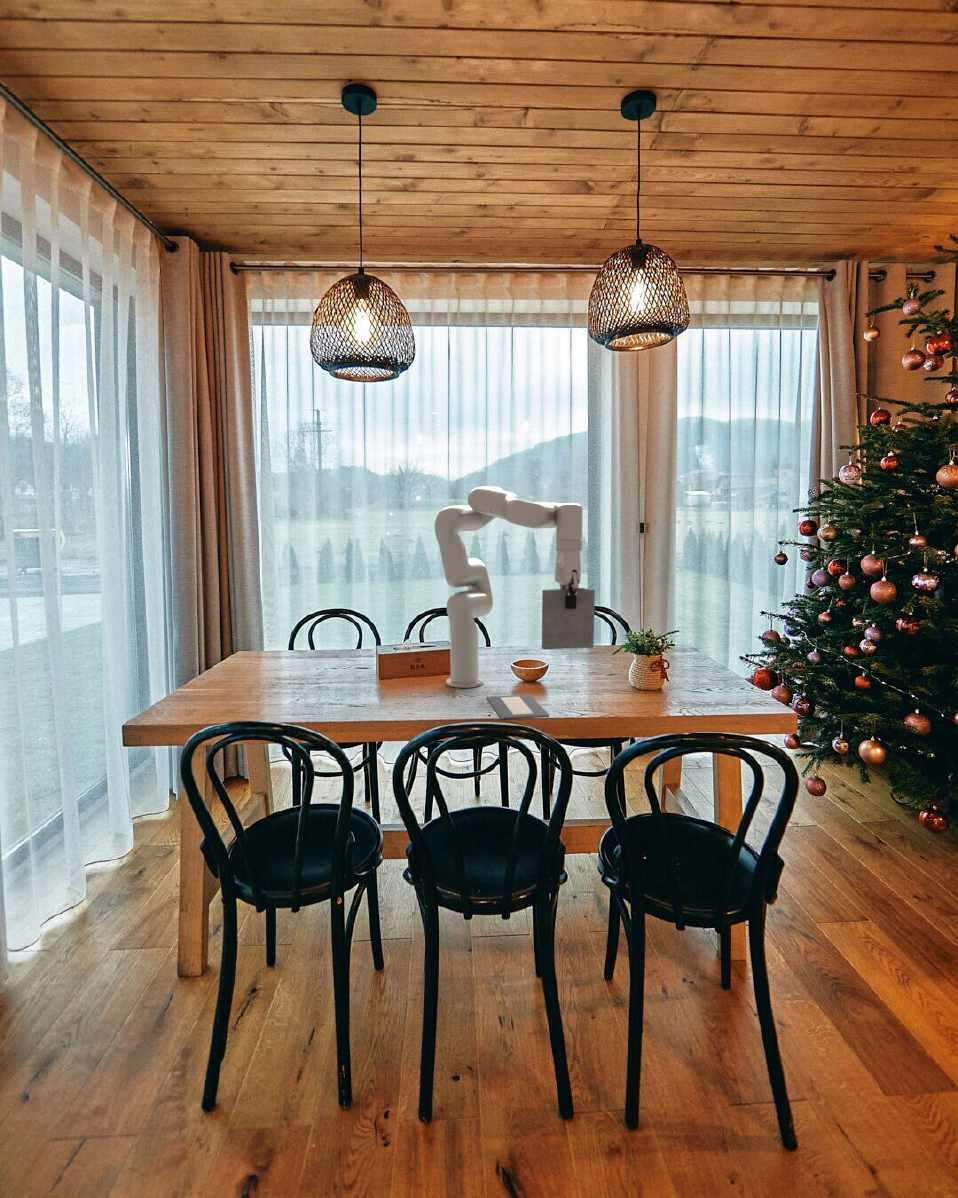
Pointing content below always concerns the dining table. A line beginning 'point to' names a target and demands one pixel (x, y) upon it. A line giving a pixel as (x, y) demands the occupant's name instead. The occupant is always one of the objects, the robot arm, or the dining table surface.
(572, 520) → the robot arm
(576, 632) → the hip flask
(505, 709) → the mat
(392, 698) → the dining table surface
